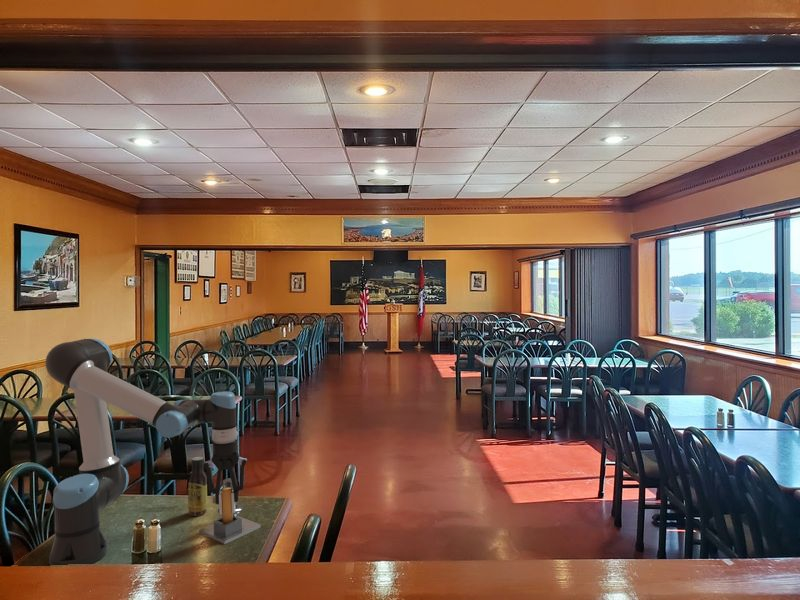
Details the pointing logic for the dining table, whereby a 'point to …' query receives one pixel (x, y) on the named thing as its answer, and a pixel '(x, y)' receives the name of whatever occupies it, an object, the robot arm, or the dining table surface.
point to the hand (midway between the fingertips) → (227, 512)
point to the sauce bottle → (197, 488)
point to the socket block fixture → (229, 524)
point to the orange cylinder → (227, 505)
